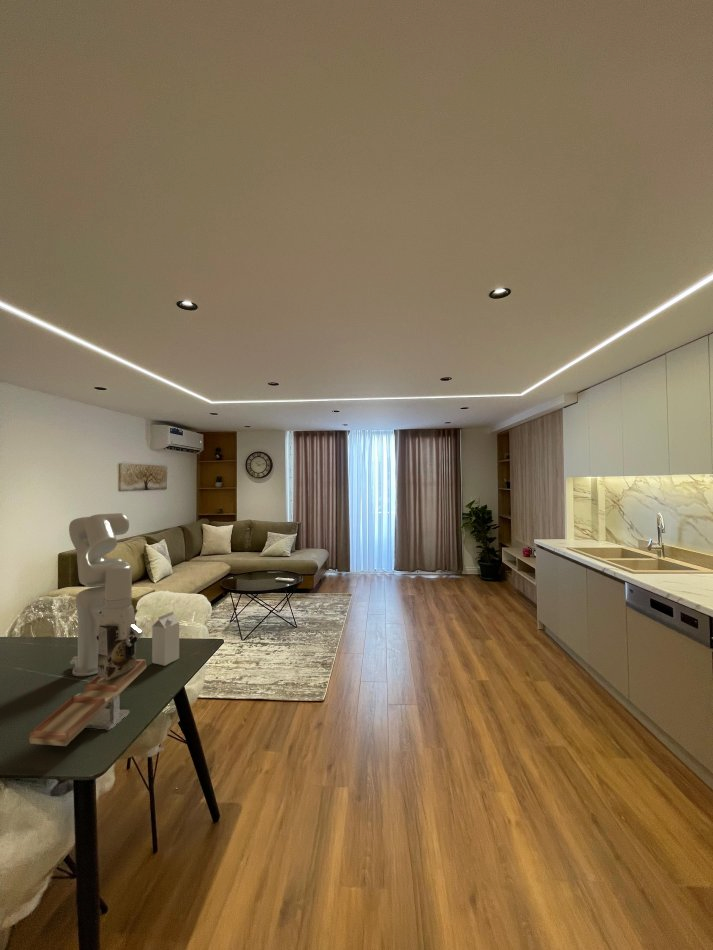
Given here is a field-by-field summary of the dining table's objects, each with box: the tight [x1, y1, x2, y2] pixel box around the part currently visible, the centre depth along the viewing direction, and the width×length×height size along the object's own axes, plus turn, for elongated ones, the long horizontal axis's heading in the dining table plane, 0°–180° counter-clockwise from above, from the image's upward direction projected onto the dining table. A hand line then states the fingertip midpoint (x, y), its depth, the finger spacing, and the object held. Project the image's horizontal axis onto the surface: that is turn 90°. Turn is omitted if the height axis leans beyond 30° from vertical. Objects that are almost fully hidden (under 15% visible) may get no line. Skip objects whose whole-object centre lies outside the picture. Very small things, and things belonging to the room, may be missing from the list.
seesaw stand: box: [74, 692, 130, 731], centre depth 115 cm, size 16×8×7 cm, turn 83°
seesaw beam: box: [28, 658, 147, 747], centre depth 114 cm, size 11×32×4 cm, turn 173°
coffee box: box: [97, 619, 137, 680], centre depth 124 cm, size 9×6×16 cm
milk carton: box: [151, 611, 180, 667], centre depth 154 cm, size 7×7×19 cm
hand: (117, 655), depth 124 cm, fingers closed on coffee box, 8 cm apart
